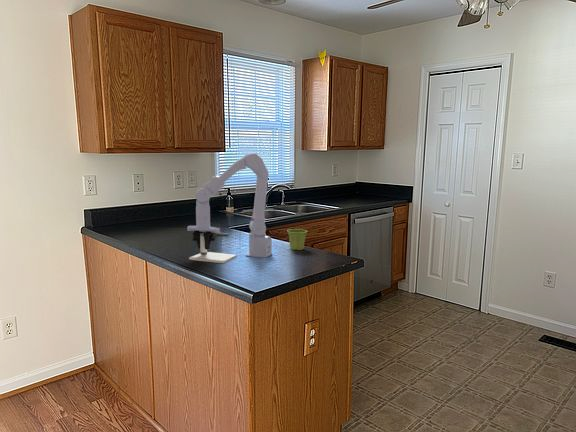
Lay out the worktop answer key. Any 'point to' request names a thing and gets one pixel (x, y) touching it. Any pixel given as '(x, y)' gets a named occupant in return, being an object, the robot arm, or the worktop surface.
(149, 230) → the worktop surface
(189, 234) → the worktop surface
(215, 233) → the door handle
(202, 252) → the marker
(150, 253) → the worktop surface
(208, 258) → the notepad
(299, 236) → the plant pot
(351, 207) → the worktop surface
